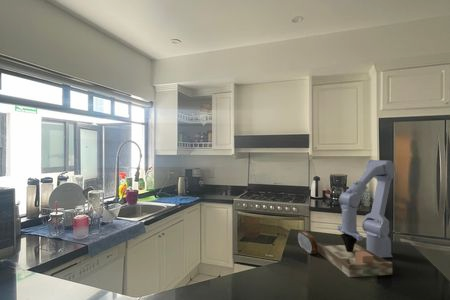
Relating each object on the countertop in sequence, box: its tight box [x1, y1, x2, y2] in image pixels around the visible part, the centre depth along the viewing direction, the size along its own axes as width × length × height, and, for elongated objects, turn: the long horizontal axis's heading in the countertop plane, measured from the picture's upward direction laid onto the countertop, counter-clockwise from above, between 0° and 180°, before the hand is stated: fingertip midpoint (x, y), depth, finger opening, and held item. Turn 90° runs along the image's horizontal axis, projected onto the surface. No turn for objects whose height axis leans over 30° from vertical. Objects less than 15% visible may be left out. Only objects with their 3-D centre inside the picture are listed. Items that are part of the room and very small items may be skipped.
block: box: [355, 251, 374, 263], centre depth 96 cm, size 4×4×4 cm
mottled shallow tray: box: [316, 242, 393, 278], centre depth 105 cm, size 18×24×4 cm
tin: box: [297, 230, 318, 255], centre depth 117 cm, size 15×3×8 cm, turn 9°
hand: (349, 251), depth 106 cm, fingers closed
